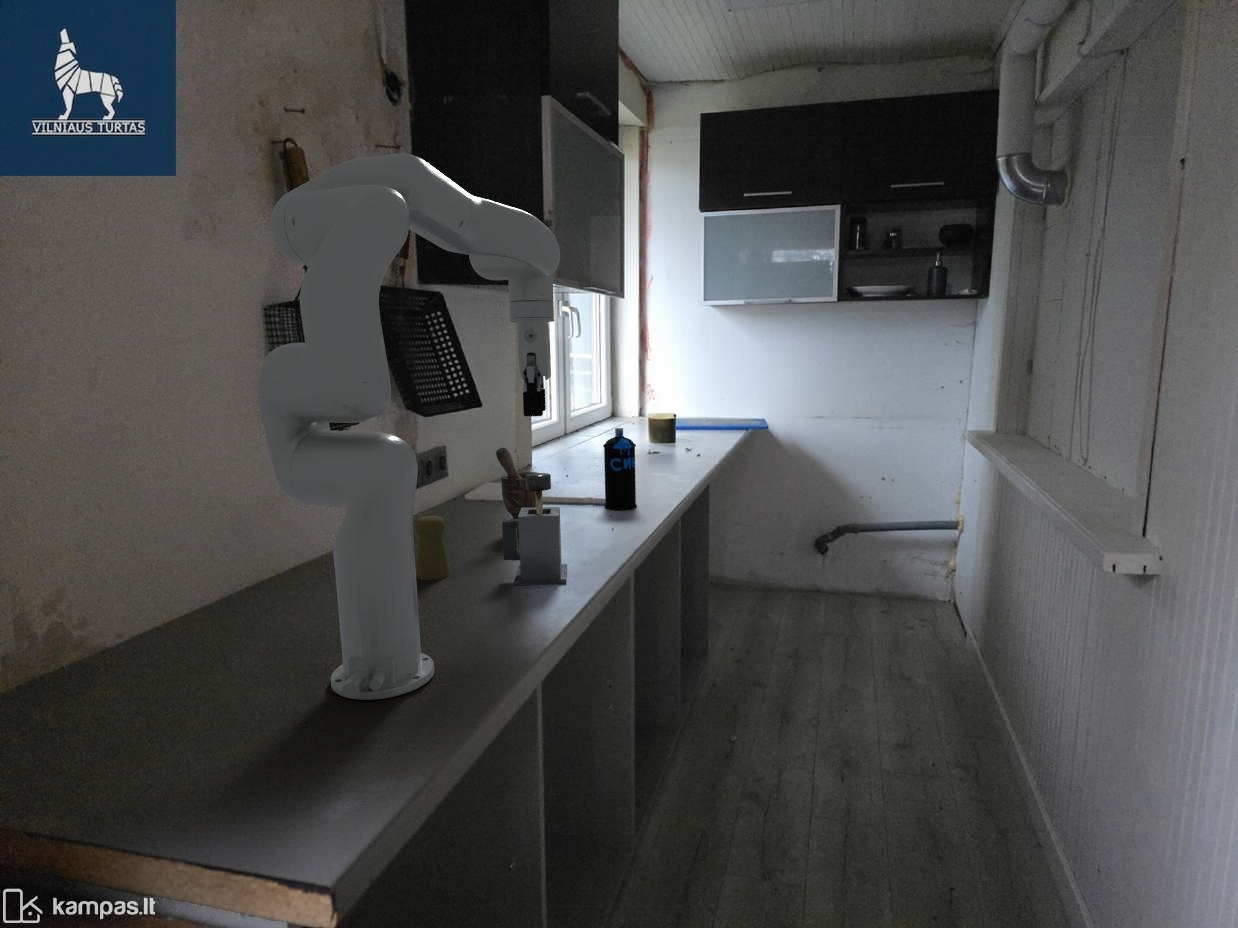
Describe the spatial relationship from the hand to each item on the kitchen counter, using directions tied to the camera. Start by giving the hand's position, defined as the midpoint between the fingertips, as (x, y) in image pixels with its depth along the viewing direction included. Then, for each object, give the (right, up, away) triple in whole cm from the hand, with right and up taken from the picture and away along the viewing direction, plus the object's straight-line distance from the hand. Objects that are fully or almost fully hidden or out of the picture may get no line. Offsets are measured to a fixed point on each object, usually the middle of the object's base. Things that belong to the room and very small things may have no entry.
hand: (535, 413), depth 132 cm
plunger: (+1, -25, +4) cm, 26 cm away
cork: (-19, -29, +7) cm, 36 cm away
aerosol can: (+15, -20, +60) cm, 65 cm away
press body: (0, -29, +5) cm, 30 cm away
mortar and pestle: (-7, -25, +34) cm, 43 cm away
